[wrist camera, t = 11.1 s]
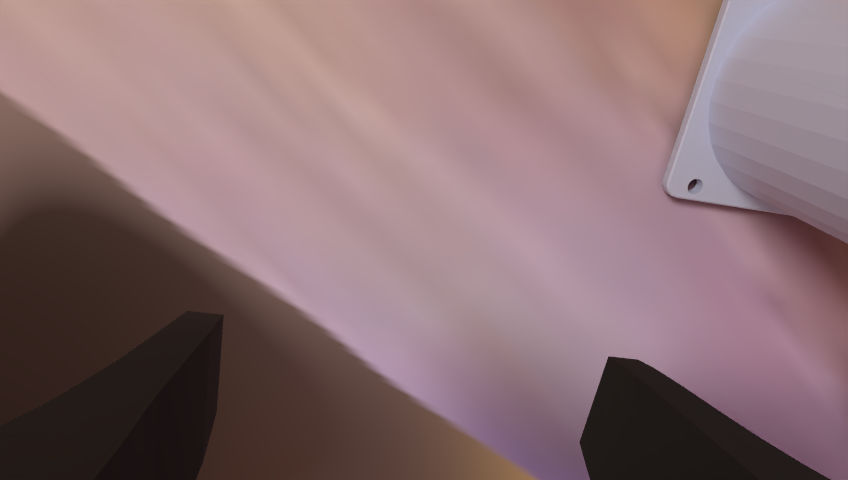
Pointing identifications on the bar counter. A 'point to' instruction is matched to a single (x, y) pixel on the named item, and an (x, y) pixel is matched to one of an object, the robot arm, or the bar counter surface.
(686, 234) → the bar counter surface
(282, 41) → the bar counter surface
